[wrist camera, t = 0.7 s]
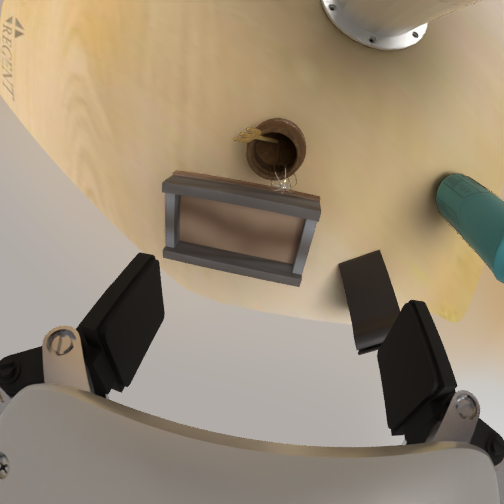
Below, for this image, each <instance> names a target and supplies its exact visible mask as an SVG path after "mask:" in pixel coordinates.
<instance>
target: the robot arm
mask: <svg viewBox="0 0 504 504" xmlns="http://www.w3.org/2000/svg"><path fill="white" fill-rule="evenodd" d="M479 1H481V0H321V2H322V5H323V8H324V10H325V12H326V14H327V15H328V17H329V18H330V20H331V21H332V22H333V23H334V25H335V26H336V27H337V28H339V29H340V30H341V31H342V32H343V33H344V34H346V35H347V36H349V37H350V38H351V39H353V40H355V41H357V42H359V43H361V44H363V45H366V46H368V47H371V48H375V49H380V50H391V51H393V50H401V49H404V48H407V47H410V46H412V45H414V44H416V43H417V42H418V41H420V40H421V38H422V37H423V36H424V34H425V33H426V30H427V27H428V22H430V21H432V20H434V19H437V18H439V17H441V16H444V15H446V14H448V13H451V12H453V11H455V10H458V9H460V8H463V7H466V6H468V5H471V4H474V3H476V2H479ZM330 8H333V9H334V11H332V10H330ZM412 35H414V37H413V36H412ZM369 39H371V40H372V41H373V43H371V42H370V41H369ZM163 319H164V305H163V296H162V287H161V277H160V266H159V261H158V260H156V259H155V256H154V255H150V254H145V253H139V254H137V255H136V257H135V258H134V259H133V260H132V261H131V262H130V263H129V265H128V266H127V267H126V268H125V269H124V270H123V272H122V273H121V274H120V275H119V276H118V278H117V279H116V280H115V281H114V282H113V283H112V284H111V285H110V287H109V288H108V289H107V290H106V291H105V293H104V294H103V295H102V296H101V298H100V299H99V300H98V301H97V303H96V304H95V305H94V306H93V308H92V309H91V310H90V312H89V313H88V314H87V315H86V317H85V318H84V319H83V321H82V322H81V323H80V324H79V326H78V327H77V328H76V329H74V328H72V327H70V326H59V327H56V328H54V329H52V330H51V331H49V333H48V334H47V335H46V336H45V338H44V340H43V345H42V346H41V347H37V348H34V349H30V350H27V351H24V352H20V353H17V354H13V355H10V356H7V357H4V358H3V359H2V360H0V504H504V440H503V438H502V437H501V436H500V435H499V434H498V433H497V432H496V431H494V430H493V429H492V428H491V427H489V426H488V425H487V424H486V423H484V422H483V421H482V420H481V419H480V418H479V414H480V406H479V403H478V401H477V399H476V397H475V396H474V395H473V394H472V393H470V392H468V391H465V390H461V391H458V392H455V388H456V387H457V383H456V380H455V377H454V374H453V371H452V368H451V365H450V362H449V360H448V357H447V354H446V352H445V349H444V346H443V344H442V341H441V339H440V336H439V334H438V331H437V329H436V327H435V324H434V322H433V319H432V317H431V315H430V312H429V310H428V308H427V306H426V304H425V302H423V301H416V300H410V301H409V302H408V303H406V304H405V305H404V306H403V308H402V310H401V312H400V313H399V315H398V317H397V319H396V321H395V322H394V324H393V326H392V328H391V329H390V331H389V333H388V335H387V336H386V338H385V340H384V341H383V343H382V344H381V346H380V348H379V350H378V354H377V357H378V363H379V368H380V374H381V381H382V387H383V394H384V400H385V408H386V415H387V424H388V427H389V428H390V429H391V433H392V436H395V435H405V440H404V442H403V443H402V445H398V446H381V447H318V446H303V445H292V444H282V443H274V442H266V441H259V440H253V439H246V438H240V437H235V436H230V435H225V434H220V433H216V432H211V431H207V430H202V429H198V428H194V427H190V426H187V425H183V424H179V423H176V422H173V421H169V420H166V419H163V418H160V417H157V416H153V415H150V414H147V413H144V412H141V411H138V410H135V409H133V408H130V407H127V406H124V405H122V404H119V403H116V402H114V401H111V400H109V397H108V394H109V392H110V390H111V389H114V390H116V391H119V392H122V391H123V389H124V387H125V386H126V387H128V386H129V385H130V383H131V381H132V379H133V377H134V375H135V373H136V371H137V369H138V367H139V365H140V364H141V362H142V360H143V357H144V356H145V354H146V352H147V350H148V348H149V346H150V344H151V342H152V340H153V338H154V336H155V334H156V333H157V331H158V329H159V327H160V325H161V323H162V321H163Z"/></svg>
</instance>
